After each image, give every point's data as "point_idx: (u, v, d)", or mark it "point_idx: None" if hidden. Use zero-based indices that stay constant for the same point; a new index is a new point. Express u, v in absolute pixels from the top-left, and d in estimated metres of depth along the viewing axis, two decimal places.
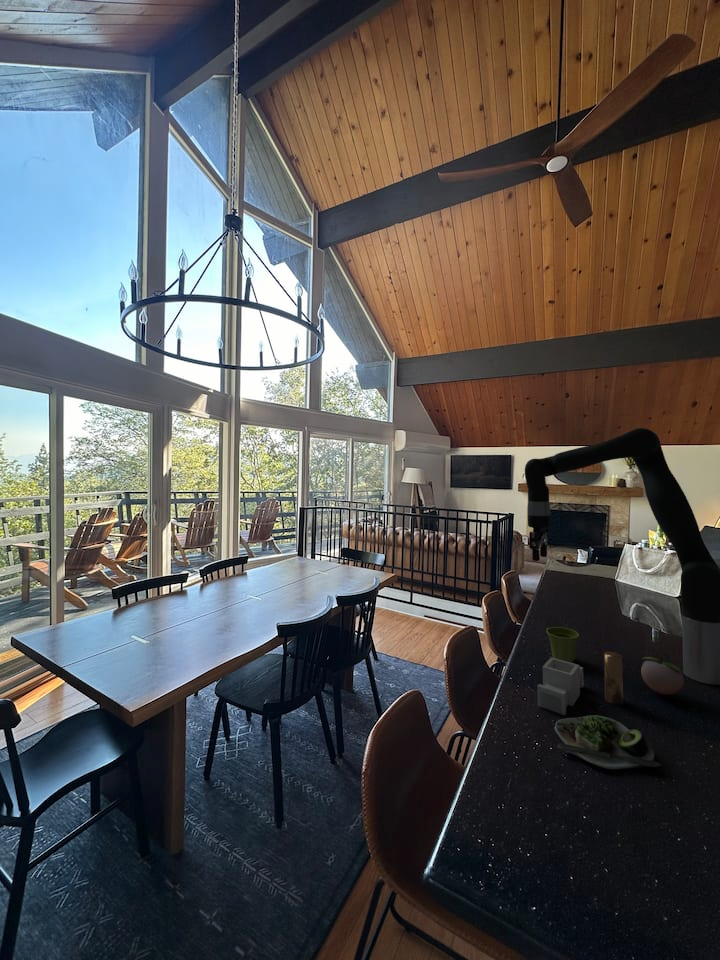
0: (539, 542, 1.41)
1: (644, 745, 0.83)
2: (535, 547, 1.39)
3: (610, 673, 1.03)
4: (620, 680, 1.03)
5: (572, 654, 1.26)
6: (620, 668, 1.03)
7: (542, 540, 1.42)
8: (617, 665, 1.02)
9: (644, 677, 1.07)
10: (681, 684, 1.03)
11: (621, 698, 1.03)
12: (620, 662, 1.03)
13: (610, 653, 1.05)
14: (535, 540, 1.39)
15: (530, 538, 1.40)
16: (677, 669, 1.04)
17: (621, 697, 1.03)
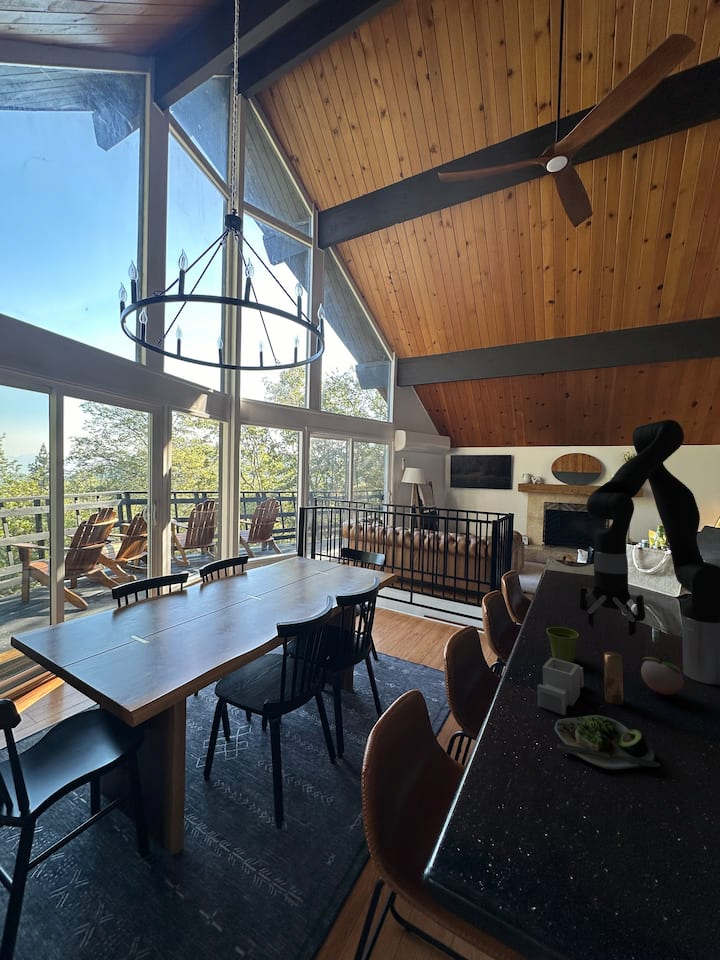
0: (629, 608, 1.03)
1: (644, 745, 0.83)
2: (644, 616, 1.00)
3: (610, 673, 1.03)
4: (620, 680, 1.03)
5: (572, 654, 1.26)
6: (620, 668, 1.03)
7: None
8: (617, 665, 1.02)
9: (644, 677, 1.07)
10: (681, 684, 1.03)
11: (621, 698, 1.03)
12: (620, 662, 1.03)
13: (610, 653, 1.05)
14: None
15: (642, 606, 0.99)
16: (677, 669, 1.04)
17: (621, 697, 1.03)
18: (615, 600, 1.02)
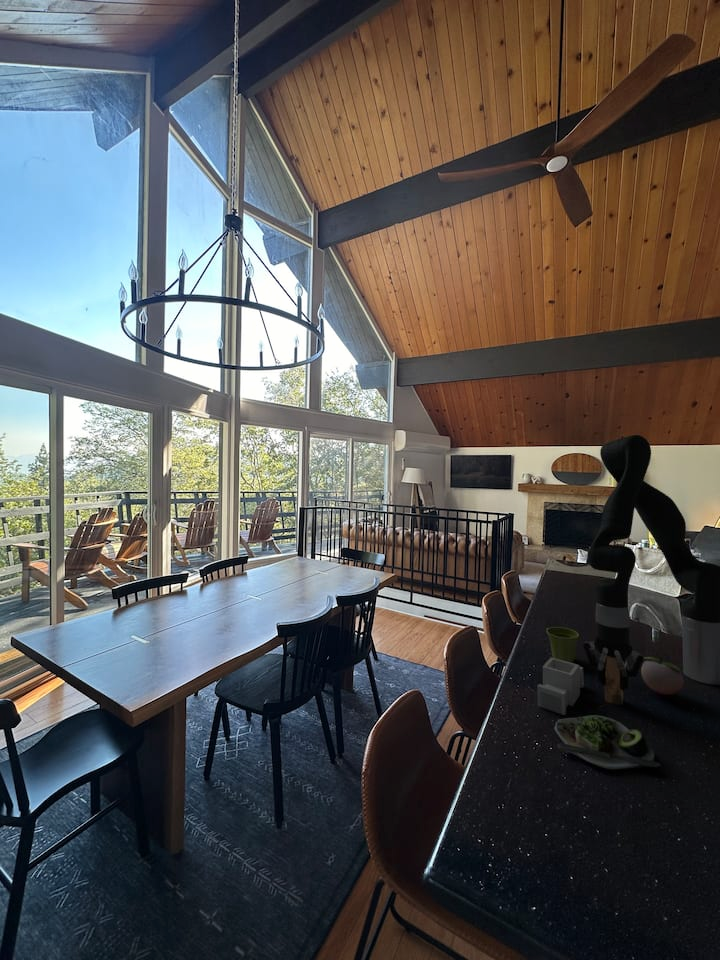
0: None
1: (644, 745, 0.83)
2: None
3: (610, 673, 1.03)
4: (620, 680, 1.03)
5: (572, 654, 1.26)
6: None
7: None
8: (617, 665, 1.02)
9: (644, 677, 1.07)
10: (681, 684, 1.03)
11: (621, 698, 1.03)
12: None
13: None
14: None
15: (640, 665, 1.00)
16: (677, 669, 1.04)
17: (621, 697, 1.03)
18: (616, 653, 1.02)
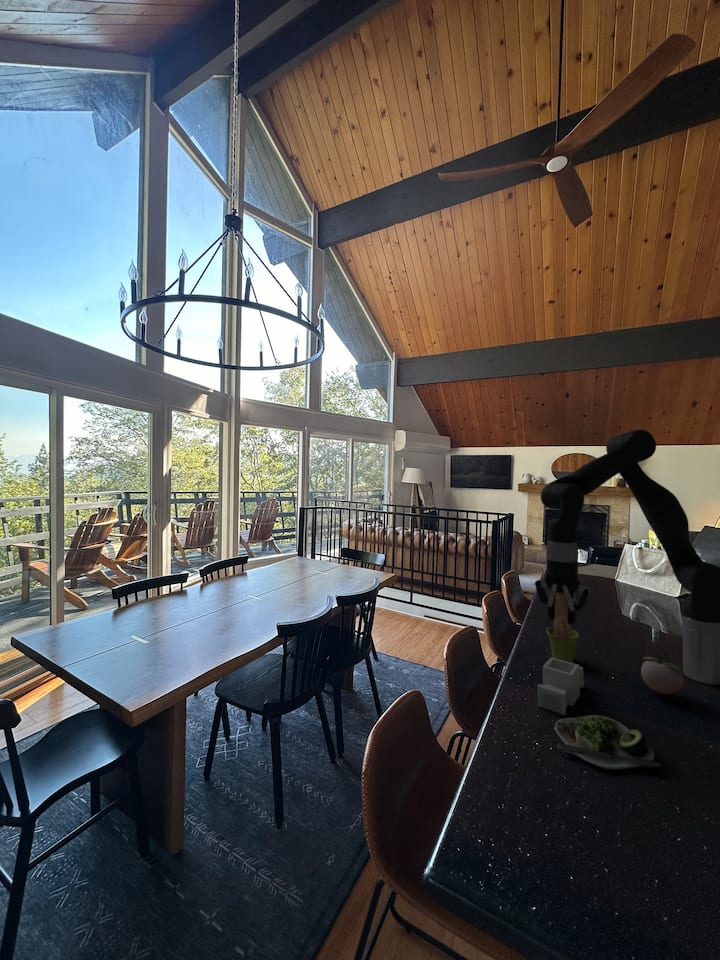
0: None
1: (644, 745, 0.83)
2: (584, 606, 1.04)
3: (559, 608, 1.06)
4: (568, 614, 1.05)
5: (572, 654, 1.26)
6: None
7: None
8: (565, 600, 1.05)
9: (644, 677, 1.07)
10: (681, 684, 1.03)
11: (568, 632, 1.05)
12: (568, 597, 1.05)
13: None
14: (587, 598, 1.04)
15: (586, 598, 1.02)
16: (677, 669, 1.04)
17: (568, 631, 1.05)
18: (564, 588, 1.05)
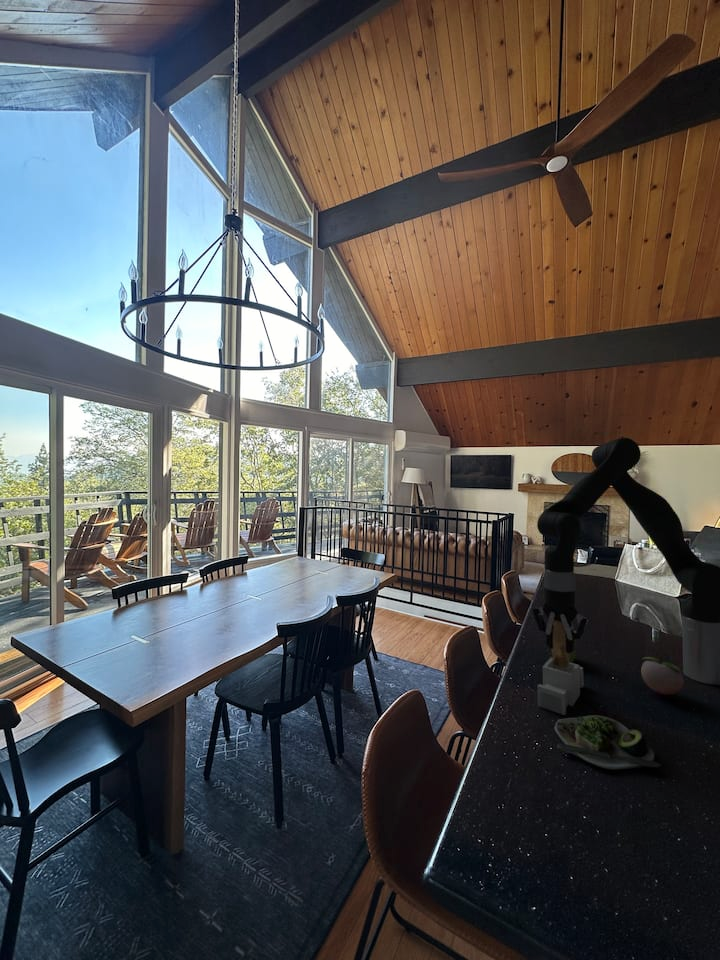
0: None
1: (644, 745, 0.83)
2: (582, 634, 1.05)
3: (557, 637, 1.06)
4: (566, 643, 1.06)
5: (572, 654, 1.26)
6: None
7: None
8: (563, 629, 1.05)
9: (644, 677, 1.07)
10: (681, 684, 1.03)
11: (567, 661, 1.06)
12: (566, 626, 1.06)
13: None
14: (585, 627, 1.04)
15: (584, 627, 1.03)
16: (677, 669, 1.04)
17: (567, 660, 1.06)
18: (562, 617, 1.05)
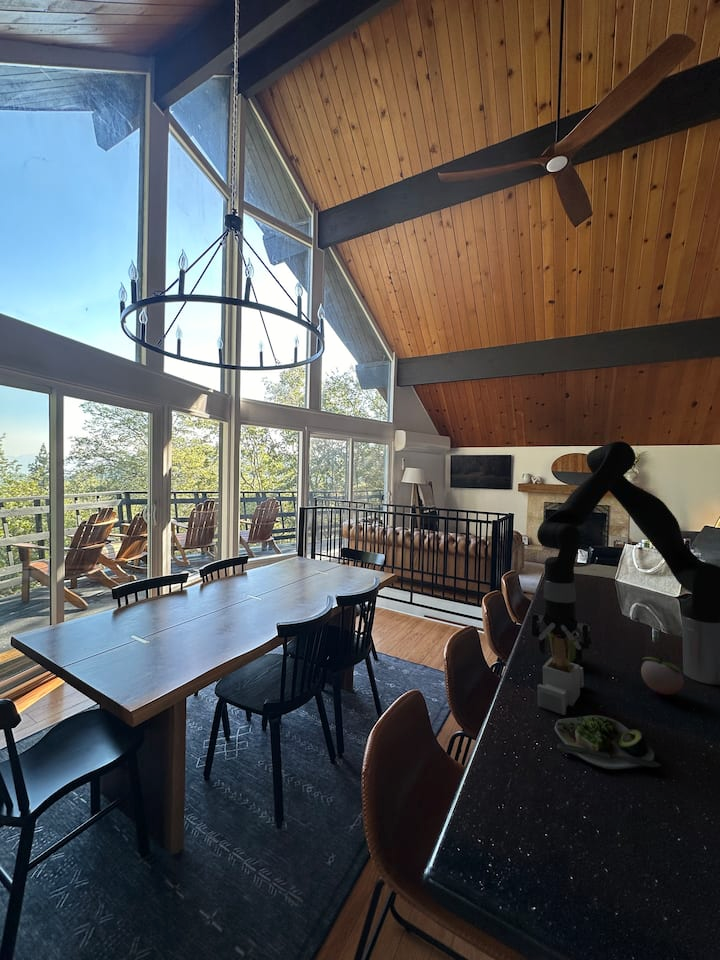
0: (577, 635, 1.06)
1: (644, 745, 0.83)
2: (590, 644, 1.03)
3: (557, 654, 1.06)
4: (566, 660, 1.06)
5: (572, 654, 1.26)
6: (566, 648, 1.06)
7: None
8: (563, 646, 1.05)
9: (644, 677, 1.07)
10: (681, 684, 1.03)
11: None
12: (566, 643, 1.06)
13: None
14: (590, 634, 1.03)
15: (588, 634, 1.02)
16: (677, 669, 1.04)
17: None
18: (563, 628, 1.05)
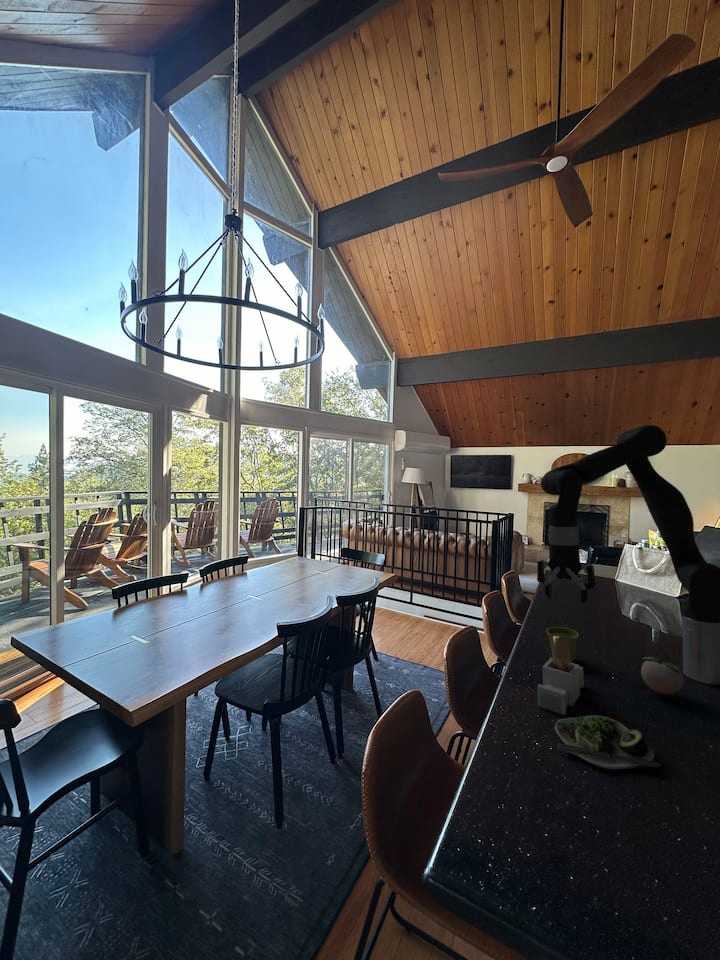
0: (581, 577, 1.09)
1: (644, 745, 0.83)
2: (595, 584, 1.07)
3: (558, 654, 1.06)
4: (567, 660, 1.05)
5: (572, 654, 1.26)
6: (567, 649, 1.05)
7: None
8: (564, 646, 1.05)
9: (644, 677, 1.07)
10: (681, 684, 1.03)
11: None
12: (567, 643, 1.05)
13: (558, 635, 1.08)
14: (594, 575, 1.07)
15: (592, 574, 1.06)
16: (677, 669, 1.04)
17: None
18: (568, 570, 1.09)
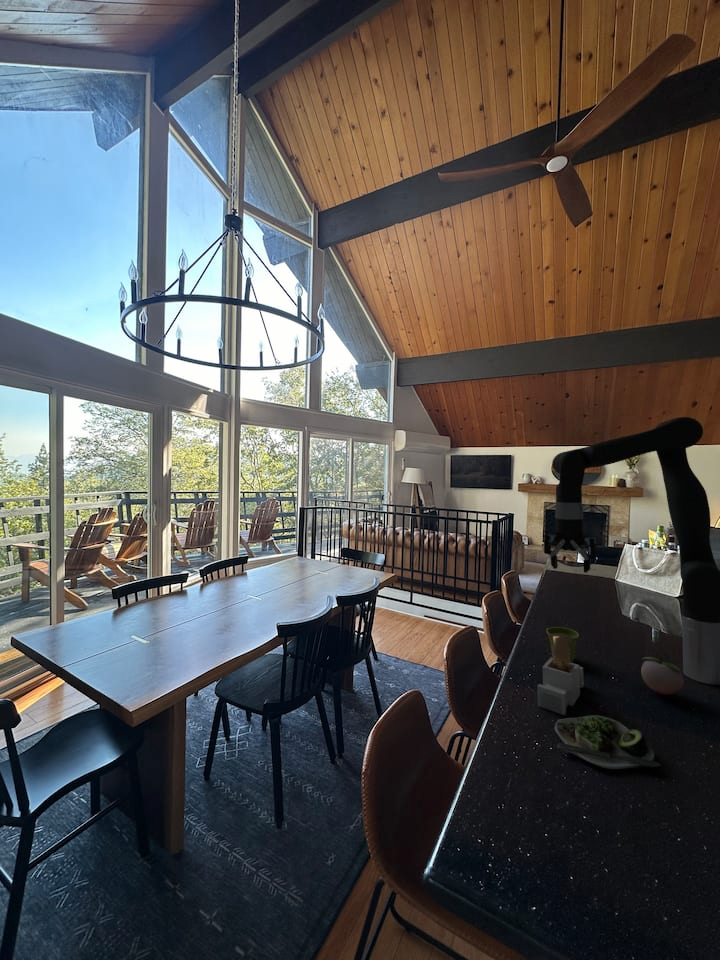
0: (585, 549, 1.20)
1: (644, 745, 0.83)
2: None
3: (558, 654, 1.06)
4: (567, 660, 1.05)
5: (572, 654, 1.26)
6: (567, 649, 1.05)
7: None
8: (564, 646, 1.05)
9: (644, 677, 1.07)
10: (681, 684, 1.03)
11: None
12: (567, 643, 1.05)
13: (558, 635, 1.08)
14: (596, 547, 1.18)
15: (594, 546, 1.17)
16: (677, 669, 1.04)
17: None
18: (572, 542, 1.20)
